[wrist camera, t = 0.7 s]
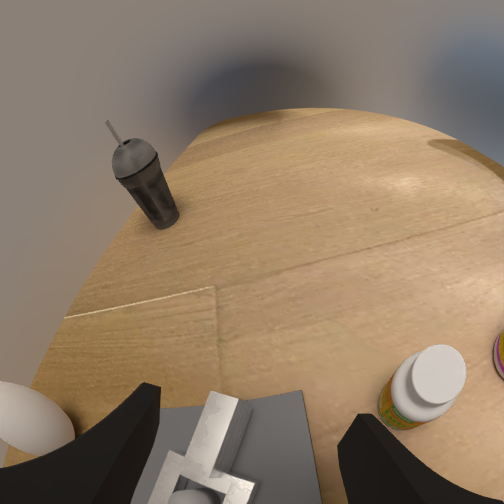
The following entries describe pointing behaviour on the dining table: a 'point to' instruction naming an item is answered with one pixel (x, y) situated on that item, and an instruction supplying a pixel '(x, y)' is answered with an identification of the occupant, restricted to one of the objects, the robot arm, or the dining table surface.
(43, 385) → the dining table surface
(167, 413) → the base
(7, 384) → the white squeeze bulb
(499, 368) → the supplement bottle
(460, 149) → the dining table surface
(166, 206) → the beverage cup
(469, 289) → the dining table surface
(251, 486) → the square nut with handle
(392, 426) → the supplement bottle
